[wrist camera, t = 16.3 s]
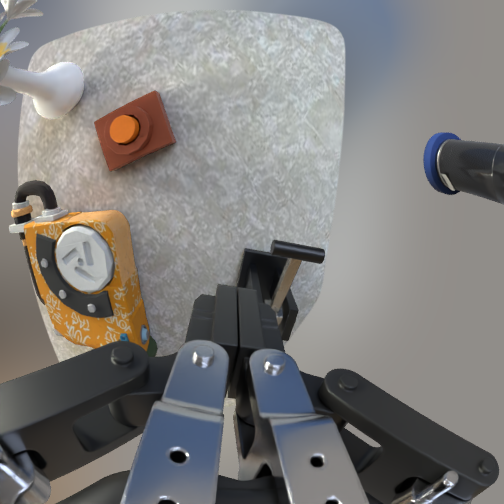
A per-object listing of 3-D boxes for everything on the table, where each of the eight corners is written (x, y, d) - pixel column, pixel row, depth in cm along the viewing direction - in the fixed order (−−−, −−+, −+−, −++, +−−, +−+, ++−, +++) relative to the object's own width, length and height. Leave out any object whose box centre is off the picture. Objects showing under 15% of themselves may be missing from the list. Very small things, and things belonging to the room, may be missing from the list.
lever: (273, 233, 26) (275, 249, 24) (322, 242, 26) (327, 259, 25) (247, 311, 33) (247, 327, 32) (286, 316, 34) (287, 332, 32)
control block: (159, 93, 32) (151, 87, 28) (176, 142, 35) (169, 141, 31) (100, 123, 32) (87, 121, 29) (115, 170, 35) (104, 172, 31)
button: (134, 112, 29) (130, 110, 28) (142, 136, 31) (138, 135, 29) (111, 124, 30) (106, 123, 28) (119, 147, 31) (114, 147, 29)
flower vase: (116, 36, 27) (26, -36, 4) (88, 145, 33) (-42, 156, 10) (56, 44, 26) (-39, 7, 2) (32, 143, 32) (-82, 160, 8)
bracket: (244, 248, 40) (249, 288, 28) (290, 256, 41) (311, 297, 29) (235, 295, 43) (235, 346, 31) (277, 301, 44) (291, 352, 32)
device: (42, 353, 36) (-5, 190, 26) (60, 329, 44) (25, 182, 34) (147, 369, 38) (108, 166, 27) (157, 338, 45) (133, 162, 35)
